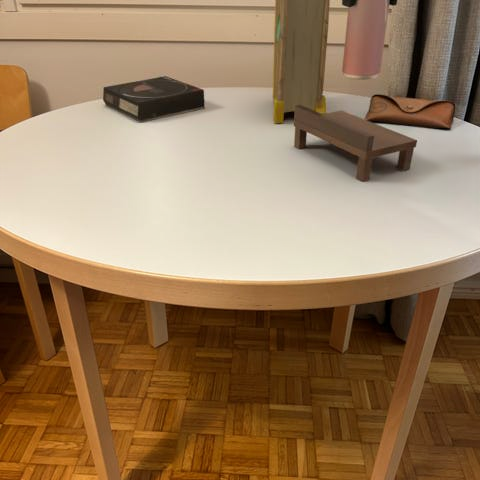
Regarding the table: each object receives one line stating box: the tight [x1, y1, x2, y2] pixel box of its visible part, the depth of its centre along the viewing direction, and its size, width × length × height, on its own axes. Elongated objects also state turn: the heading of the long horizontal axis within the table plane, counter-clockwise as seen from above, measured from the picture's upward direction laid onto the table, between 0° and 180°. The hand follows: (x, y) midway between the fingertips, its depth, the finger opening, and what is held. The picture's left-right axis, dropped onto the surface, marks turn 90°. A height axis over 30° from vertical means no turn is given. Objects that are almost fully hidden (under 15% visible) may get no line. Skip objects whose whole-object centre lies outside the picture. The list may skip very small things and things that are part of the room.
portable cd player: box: [102, 75, 206, 123], centre depth 120 cm, size 16×17×4 cm
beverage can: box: [341, 0, 391, 81], centre depth 80 cm, size 6×6×15 cm
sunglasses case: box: [363, 93, 456, 129], centre depth 111 cm, size 18×7×7 cm
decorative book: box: [272, 0, 331, 124], centre depth 109 cm, size 20×11×30 cm, turn 178°
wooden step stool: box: [293, 105, 418, 182], centre depth 93 cm, size 11×20×7 cm, turn 30°
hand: (369, 3), depth 79 cm, fingers closed on beverage can, 6 cm apart
